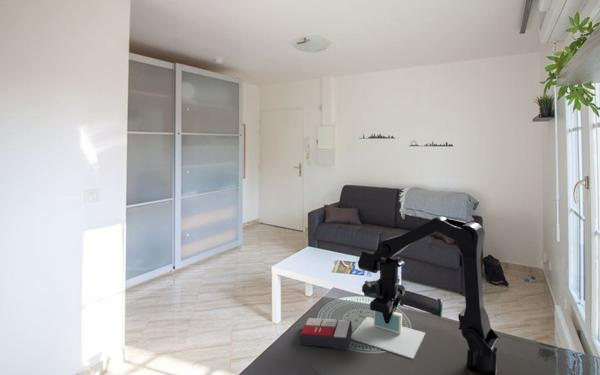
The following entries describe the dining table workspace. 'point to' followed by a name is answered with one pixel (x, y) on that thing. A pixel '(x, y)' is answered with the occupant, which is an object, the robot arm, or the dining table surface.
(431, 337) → the dining table surface
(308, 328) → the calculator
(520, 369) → the dining table surface
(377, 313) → the block
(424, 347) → the dining table surface
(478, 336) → the robot arm
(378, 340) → the mat
